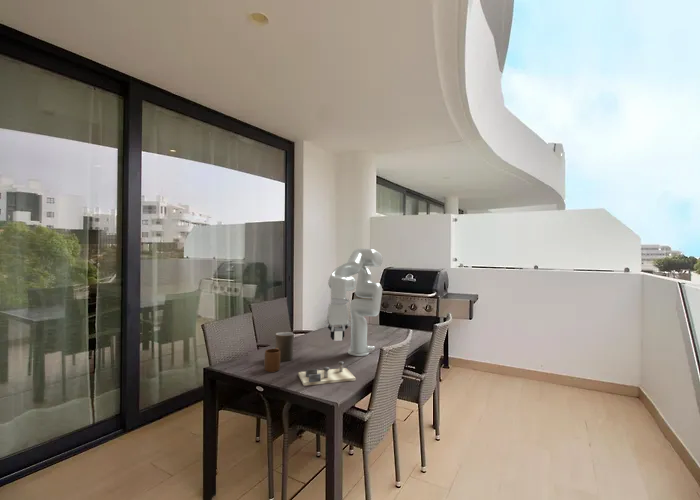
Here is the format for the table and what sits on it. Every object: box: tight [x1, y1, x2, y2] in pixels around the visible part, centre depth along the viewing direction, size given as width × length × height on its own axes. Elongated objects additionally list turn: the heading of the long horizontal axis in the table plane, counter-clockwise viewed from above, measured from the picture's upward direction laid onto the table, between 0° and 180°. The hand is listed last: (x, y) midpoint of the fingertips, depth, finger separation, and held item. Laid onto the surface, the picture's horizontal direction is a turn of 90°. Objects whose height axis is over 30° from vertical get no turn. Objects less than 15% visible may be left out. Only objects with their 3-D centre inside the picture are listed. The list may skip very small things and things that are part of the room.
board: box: [297, 360, 357, 386], centre depth 160 cm, size 24×14×6 cm, turn 109°
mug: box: [264, 348, 281, 373], centre depth 170 cm, size 12×8×9 cm, turn 173°
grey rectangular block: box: [333, 326, 343, 342], centre depth 169 cm, size 4×4×6 cm
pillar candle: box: [274, 331, 294, 363], centre depth 186 cm, size 10×10×15 cm
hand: (337, 338), depth 169 cm, fingers closed on grey rectangular block, 4 cm apart
